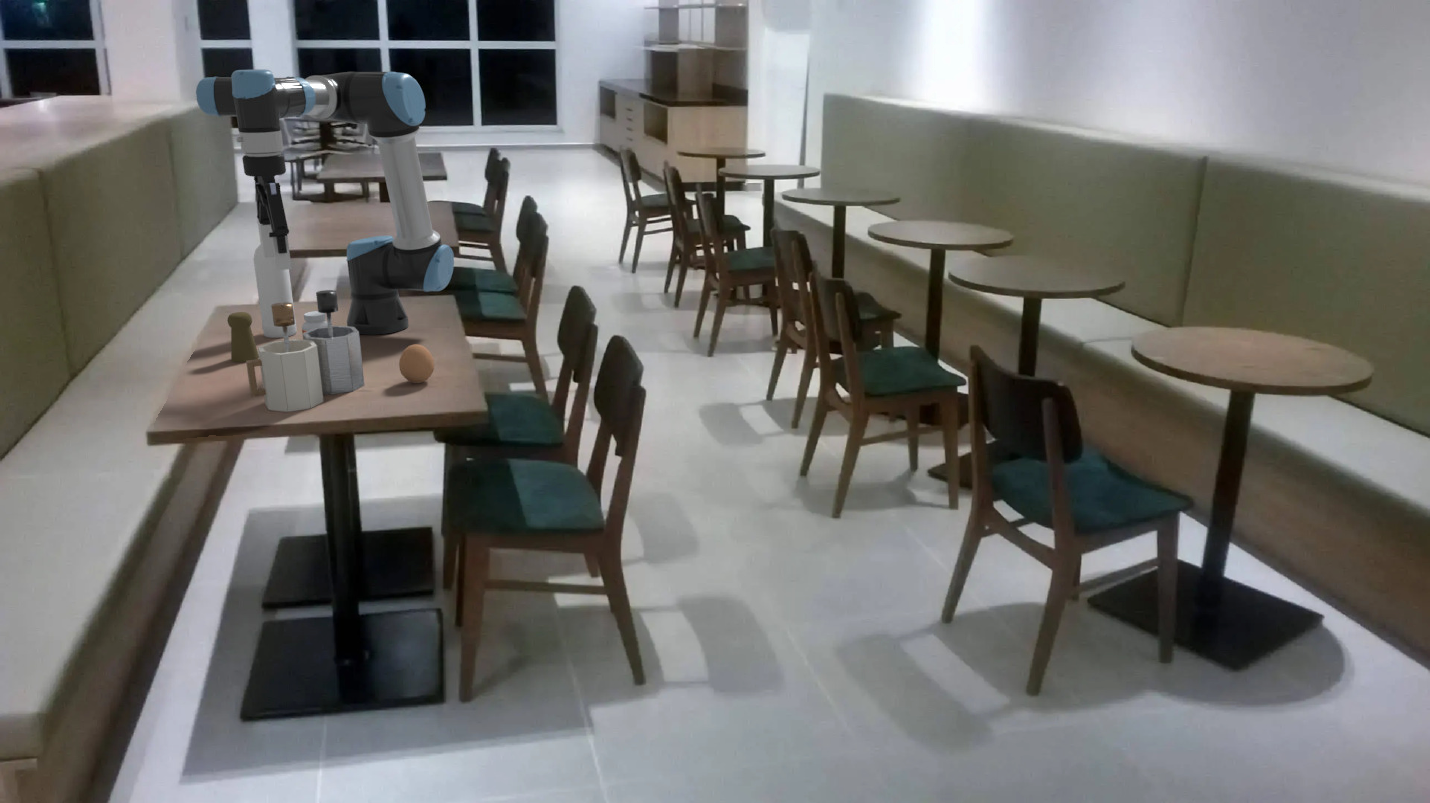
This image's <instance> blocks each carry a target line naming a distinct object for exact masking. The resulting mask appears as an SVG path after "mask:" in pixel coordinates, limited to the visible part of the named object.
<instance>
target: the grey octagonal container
mask: <svg viewBox="0 0 1430 803" xmlns="http://www.w3.org/2000/svg"><path fill="white" fill-rule="evenodd" d="M332 328H333V338H329V332H328V327H320V328H314V329H312V330H309V331H307V332H304V333H302V340H312V341H313V342H314V343H315V344H316V345H317V351H318V359H319V368H320V376H321V384H322V393H323V395H336V394H344V393H351V392H354V391H356V390H358V389H361V388H362V387H364V386H365V378H364V368H363V359H362V358H363V357H362V349H361V348H362V347H361V340H360V339H361V338H360V334H359V331H358V330H357V329H356V328H355V327H349V326H347V325H332Z"/></svg>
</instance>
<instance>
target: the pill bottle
mask: <svg viewBox="0 0 1430 803" xmlns="http://www.w3.org/2000/svg"><path fill="white" fill-rule="evenodd" d="M303 318H304V321H305V322H303V324H302V325H301V331H302V334H303V333H304V332H307V331H309V330H312V329H314V328H320V327H328V323H327V315H326V313H319V312H318V310H315V311H308V312H305V313H304V314H303Z"/></svg>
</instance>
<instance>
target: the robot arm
mask: <svg viewBox="0 0 1430 803" xmlns="http://www.w3.org/2000/svg"><path fill="white" fill-rule="evenodd" d="M197 83H198V84H197V86H196V90H195V94H196V102H197V104H198V107H199V109H200V110H201V111H202V112H203V113H204V114H205V115H207V116H213V117H236V120H237V127H238V128H237V129H238V135H239V136H237V137H236V138H235V139H236V142H237V143H240V149H241V152H242V154H244V155H243V157H241V158H242V166H243V173H244V174H245V175H246V176H247V177H253V180H254V189H255V200H256V214H257V215H256V219H257V218H258V220H259V223H260V224H263V225H260V228H261V235H262V242H263V249H264V256H265V258H267V257H275V263H276V270H286V269H289V270H292V269H293V268H292V260H291V254H290V253H291V252H290V246H289V240H288V235H289V233H290V229H289V227H288V226H289V225H288V221H287V218H286V216H287V215H286V212H285V208H284V207H285V206H284V203H283V199H282V198H283V197H282V192H281V184H280V183H279V182H277V181H276V178H275V177H276V176H282V175H284V174H285V173H286V172H287V167H286V160H285V155H284V154H283V153H282V152H283V151H284V143H283V142H284V141H283V134H282V130H281V125H280V123H281V122H280V119H286V118H287V119H288V118H295V117H296V118H299V117H301V116H302V117H303V116H308V117H311V118H312V119H316V120H327V121H328V120H329V121H334V122H340V123H341V122H342V123H349V124H358V125H362V124H363V125H366V127H367V132H368V135H369V137H371V138H372V139H374V140H375V141H377V142H376V143H377V145H378V146H377V147H378V151H379V155H380V160H381V165H382V170H383V174H384V178H385V183H386V189H387V192H388V198H389V202H390V206H391V207H390V208H391V212H392V216H393V221H394V225H395V229H396V236H395V237H393V236H392V235H378V236H377V235H376V236H371V237H370V236H369V237H365V238H361V239H356V240H354V241H351V242H349V244H347V246H346V263H347V269H348V270H347V271H348V272H347V273H348V280H349V287H350V288H349V289H350V295H351V297H350V298H351V300H350V306H349V310H348V315H347V319H346V326H349V327H355V328H356V329H357V330H358V331H359V335H370V336H371V335H385V334H390V333H391V334H392V333H395V332H399V331H400V332H401V331H403V330H404V329H407V328H408V327H409V317H408V315H407V311H406V310H405V307H404V305H403V303H402V301H401V298H400V295H399V291H400V290H402V291H403V290H405V291H419V292H427V293H428V292H440V291H442V290H444V289H445V288H446V287H448V285H449V283H450V282H451V279H452V275H453V272H454V266H455V265H454V264H455V260H454V259H455V256H454V251H453V249H452V248H451V247H450V245H448V244H442V240H441V234H440V233H439V232H438V231H436V230H434V229H433V225H432V220H431V215H430V209H429V205H428V199H427V194H426V189H425V183H424V178H423V172H422V168H421V163H420V158H419V152H418V147H417V142H416V134H418V132H419V131H420V124H422V122H423V121H424V120H425V115H426V111H425V109H426V99H425V95H424V92H423V90H422V88H421V86H420V84H419V83H418V81H417V79H415V78H414V77H413V76H411V75H410V74H409V73H404V72H396V71H347V72H346V71H345V72H338V73H337V72H336V73H331V74H322V75H318V74H317V75H310V76H308V77H306V78H303V77H299V76H298V77H297V76H286V77H275V76H274V73H273V72H272V70H270V69H257V68H256V69H238V70H234V71H233V72H232V74H231V76H230V77H229V76H225V77H223V76H222V77H221V76H220V77H219V76H213V77H212V76H211V77H203V78H202V79H201V80H199V81H198V82H197Z"/></svg>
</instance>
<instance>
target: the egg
mask: <svg viewBox="0 0 1430 803" xmlns="http://www.w3.org/2000/svg"><path fill="white" fill-rule="evenodd" d="M398 364H399V365H398V367H399V371H400V374H401V375H402V377H403V378H405V379H406V380H407V381H408V382H410V383H412V384H413V383H414V384H421V383H424V382H426V381H427V380H428V379H429V378H431V376H432V375H433V373H434V370H435V360H434V358H433V355H432V354H431V352H430V350H428V349H427V348H426V347H425V346H424V345H421V344H417V343H415V344H411V345H408V347H406V348H405V349H404V350H403V351H402V354H401V355H400V358H399V362H398Z"/></svg>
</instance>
